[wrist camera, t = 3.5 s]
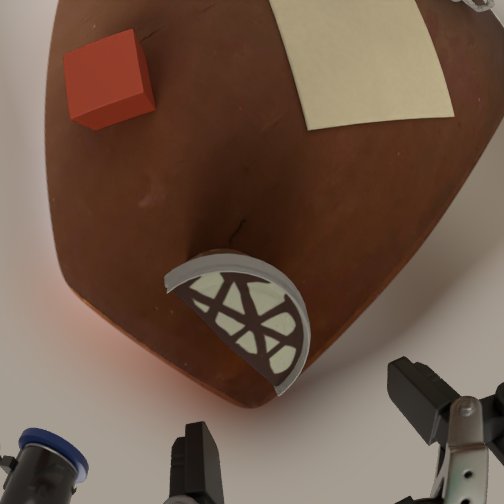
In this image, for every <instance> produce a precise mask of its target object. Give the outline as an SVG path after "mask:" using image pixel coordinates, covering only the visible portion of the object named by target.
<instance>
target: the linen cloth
mask: <svg viewBox="0 0 504 504" xmlns="http://www.w3.org/2000/svg"><path fill="white" fill-rule="evenodd" d="M269 2H270V5H271V8H272V10H273V13H274V16H275V19H276V22H277V25H278V28H279V31H280V34H281V37H282V41H283V44H284V47H285V50H286V53H287V57H288V60H289V63H290V67H291V70H292V74H293V77H294V81H295V84H296V88H297V91H298V95H299V99H300V102H301V106H302V110H303V114H304V118H305V122H306V126H307V130H308V131H309V130H315V129H322V128H329V127H336V126H343V125H351V124H359V123H368V122H378V121H389V120H401V119H415V118H434V117H454V113H453V108H452V104H451V100H450V97H449V93H448V89H447V86H446V82H445V79H444V75H443V72H442V69H441V66H440V63H439V60H438V57H437V54H436V51H435V48H434V46H433V43H432V40H431V38H430V35H429V33H428V30H427V28H426V25H425V23H424V20H423V18H422V16H421V13H420V11H419V9H418V7H417V5H416V2H415V0H269Z"/></svg>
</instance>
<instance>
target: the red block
mask: <svg viewBox="0 0 504 504" xmlns="http://www.w3.org/2000/svg"><path fill="white" fill-rule="evenodd" d="M63 59H64V71H65V82H66V91H67V99H68V107H69V114H70V119H71V120H73V121H75V122H77V123H80V124H82V125H84V126H86V127H89V128H91V129H93V130H95V131H97V130H99V129H102V128H105V127H107V126H110V125H113V124H116V123H118V122H121V121H124V120H127V119H130V118H133V117H136V116H139V115H142V114H146V113H149V112H152V111H155V110H156V106H155V102H154V97H153V92H152V87H151V82H150V77H149V72H148V66H147V61H146V56H145V54H144V51H143V49H142V47H141V45H140V43H139V40H138V38H137V36H136V34H135V32H134V30H133V28H132V29H129V30H126V31H123V32H120V33H117V34H114V35H111V36H109V37H106V38H103V39H101V40H98V41H95V42H93V43H90V44H88V45H86V46H83V47H81V48H79V49H76V50H74V51H72V52H70V53H67V54H65V55H63Z"/></svg>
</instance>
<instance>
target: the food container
mask: <svg viewBox="0 0 504 504" xmlns="http://www.w3.org/2000/svg"><path fill="white" fill-rule="evenodd" d="M165 286H166V287H167V293H169V292H170V291H171V290H174V292H175V293H176V294H177V295H178V296H179V297H180V298H181V299H182V300H184V301H185V302H186V303H187V304H188V305H189V306H190V307H191V308H192V309H193V310H194V311H195V312H196V313H197V314H198V315H199V316H200V317H201V318H202V320H203V321H204V322H205V323H206V324H207V325H208V326H209V327H210V328H211V329H212V330H213V331H214V332H215V333H216V334H217V335H218V336H219V337H220V338H221V339H222V340H223V341H224V342H225V343H226V344H227V345H228V346H229V347H230V348H231V349H232V350H233V351H234V352H236V353H237V354H238V355H239V356H240V357H242V358H243V359H244V360H245V361H246V362H247V363H249V364H250V365H251V366H252V367H253V368H254V369H256V370H257V371H258V372H259V373H260V374H261V375H262V376H263V377H265V378H266V379H267V380H268V381H269V382H270V383H271V384H273V386H274V388H275V391H276V393H277V395H278V396H280V395H281V394H282V393H283V392H285V391H286V390H287V389H288V388H289V387H290V386H291V385H292V384H293V382H294V381H295V380H296V378H297V377H298V375H299V374H300V373H301V370H302V368H303V366H304V364H305V362H306V359H307V355H308V351H309V345H310V337H311V335H310V323H309V319H308V315H307V311H306V307H305V303H304V301H303V299H302V297H301V295H300V293H299V291H298V290H297V288H296V287H295V285H294V284H293V283H292V282H291V281H290V280H289V279H288V278H287V277H286V276H285V275H284V274H283V273H282V272H281V271H279V270H278V269H276V268H275V267H273V266H272V265H270V264H268V263H266V262H264V261H261V260H259V259H256V258H252V257H251V256H249V255H248V254H245V253H243V252H241V251H238V250H234V249H228V248H216V249H211V250H207V251H204V252H201V253H199V254H197V255H195V256H194V257H192V258H191V259H190V260H188V261H187V262H186V263H184V264H182V265H180V266H178V267H176V268H175V269H173V270H172V271H171V272H169V273H168V274H167V275H165Z"/></svg>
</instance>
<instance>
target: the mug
mask: <svg viewBox="0 0 504 504" xmlns="http://www.w3.org/2000/svg"><path fill="white" fill-rule="evenodd" d="M451 1H454V2H459V1H461V0H451ZM463 1H464V3H466V4H467V5H468V6H470V7H471V8H472V9H474V10H475V11H476V12H482V11H486V10H488V9H490V8H492V7H493V6H494V1H493V0H487V3H486V4H484V5H482V6H477V5H475V4H474V3H473V1H472V0H463Z"/></svg>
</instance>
